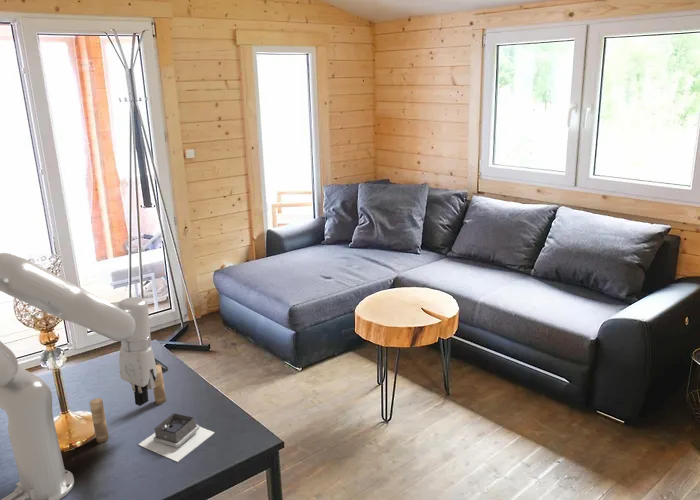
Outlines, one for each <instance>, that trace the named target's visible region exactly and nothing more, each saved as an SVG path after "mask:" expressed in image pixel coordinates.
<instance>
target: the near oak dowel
mask: <svg viewBox="0 0 700 500" xmlns="http://www.w3.org/2000/svg"><path fill="white" fill-rule="evenodd" d="M89 407H90V411H91V419H92V423H93V429H94V434H95V435H94V436H95V440H96V442H97V443H105V442H107V441H108V440H109V439H110V436H109V430H108V424H107V419H106V412H105V406H104V402H103V399H102V398H101V397H100V398H94V399H92V400H90V402H89ZM108 438H109V439H108Z"/></svg>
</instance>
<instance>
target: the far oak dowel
mask: <svg viewBox="0 0 700 500" xmlns="http://www.w3.org/2000/svg"><path fill="white" fill-rule="evenodd" d="M156 372H157V378H156V381H154V383H155V387H154V388H153V389H152V390H153V397H154V403H155V404H156V405H163V404H165V403H166V402H167V396H166V391H165V383H164V377H163V376H164V375H163V373H162V368H161V365H156ZM164 402H165V403H164ZM162 403H163V404H162Z"/></svg>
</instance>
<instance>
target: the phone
mask: <svg viewBox="0 0 700 500" xmlns="http://www.w3.org/2000/svg"><path fill="white" fill-rule="evenodd" d="M155 364H156V365H161V368H162V374H164V373H167V372H168V371H169V368H168V367H167V366H166V365H165V364H163V362H161V361H159V360H158V359H157V358H155Z"/></svg>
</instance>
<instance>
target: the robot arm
mask: <svg viewBox="0 0 700 500" xmlns="http://www.w3.org/2000/svg"><path fill="white" fill-rule="evenodd" d="M0 292H3V293H5V294H6V295H8V296H10V297H13V298H14V299H17V300H19V301H21V302H23V303H26V304H28V305H30V306H33V307H34V308H36V309H39V310H41V311H43V312H45V313H48V314H49V315H52V316H54V317H57V318H58V319H60V320H63V321H66V322H70V323H73V324H75V325H78V326H81V327H84V328H85V329H88V330H90V331H91V332H93V333H96V334H98V335H100V336H103V337H105V338H108V339H109V340H111V341H114V342H120V343H121V346H120V348H119V358H118V359H119V361H118V363H119V377H120V379H121V380H123V381H124V382H127V383H130V385H131V389H132V391H133V395H134V404H135V405H136V406H138V407H141V406H143V405H145V404H147V403H148V402H149V392H148V390H153V388H154V387H155V383H154V381H156V378H157V372H156V364H155V359H156V358H155V355H154V351H153V348H152V339H151V337H152V336H151V329H150V328H151V327H150V326H151V325H150V315H149V304H148V302H147V299H145V298H142V297H140V296H139V297H137V296H133V297H132V296H131V297H127V298H124V299H122V300H120V301H115V302H108V301H106V300H104V299H102V298H100V297H98V296H96V295H95V294H92V293H91V292H89V291H87V290H86V289H84V288H82V287H80V286H78V285H76V284H75V283H73V282H71V281H68V279H65V278H64V277H61V276H59V275H57V274H55V273H53V272H52V271H50V270H48V269H46V268H43V267H42V266H40V265H38V264H36V263H35V262H32V261H30V260H28V259H26V258H22V257H21V256H17V255H14V254H11V253H7V252H0ZM0 409H1V410H3V411H4V412H5V415H6V416H7V421H8V422H7V431H8V432H7V433H8V438H9V441H10V445H11V449H12V453H13V458H14V461H15V465H16V468H17V473H18V478H19V481H18V482H16V484H15V485H16V488H15V489H14V490H13V491H12V493H10V494H7V495H6V496H4V497H3V498H1V499H0V500H61V499H62V498H64V497H65V496H66V495H67V494H69V493H70V491H71V490H72V489H73V488H74V484H75V478H74V475H73V473H72V472H71V471H69V470H67V469H65V466H64V464H65V463H64V461H63V457H62V452H61V451H62V450H61V447H60V442H59V438H58V433H57V428H56V425H55V418H54V413H53V395H52V391H51V388H50V386H49V385H48V383H46V381H45V380H43V379H42V378H41V377H40V376H38V375H36V374H34V373H32V372H30V371H28V370H27V369H25V368H23V367H22V366H20V365H19V361H18V359H17V357H16V355H15V353H14V352H13V351H12V350H11V349H10V348H9V346H6V345H5V344H4V343H3V342H2V341H1V340H0Z"/></svg>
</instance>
